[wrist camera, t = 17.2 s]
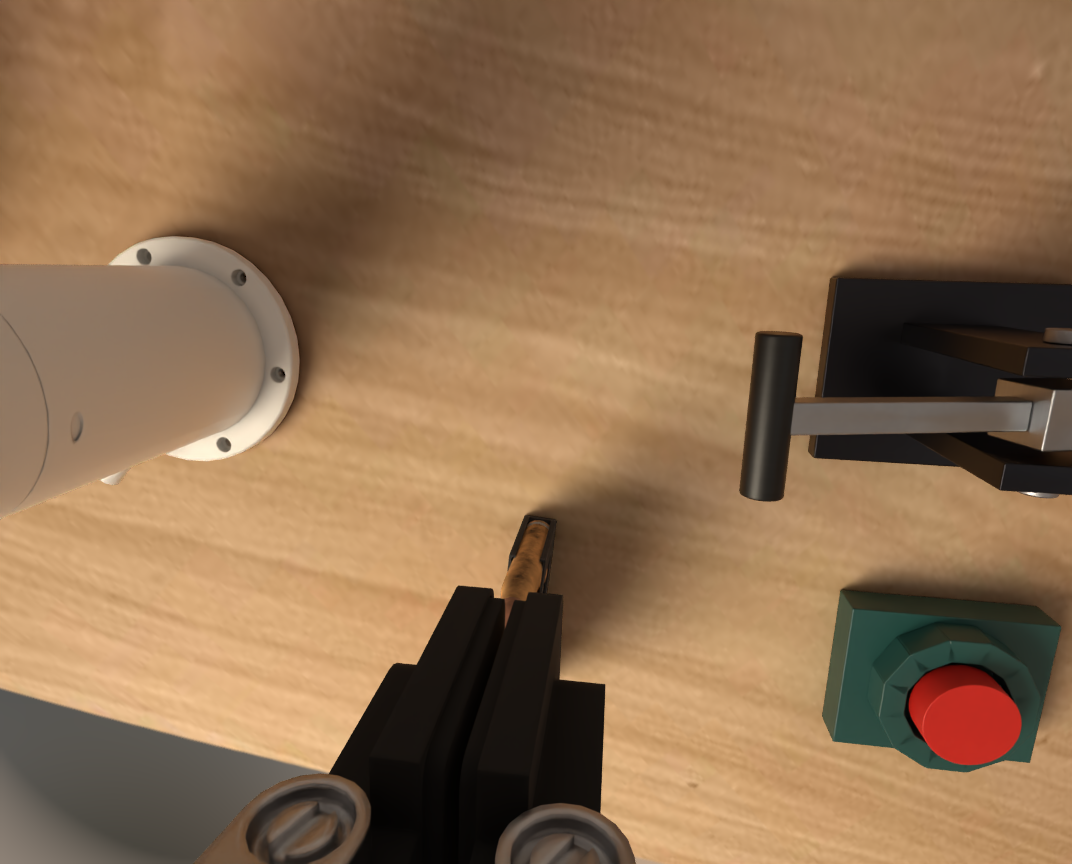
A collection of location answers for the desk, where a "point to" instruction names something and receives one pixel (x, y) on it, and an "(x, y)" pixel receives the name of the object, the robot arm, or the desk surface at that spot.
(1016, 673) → the button block
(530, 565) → the ammunition clip
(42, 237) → the desk surface
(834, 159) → the desk surface
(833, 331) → the stand
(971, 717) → the button
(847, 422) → the lever
